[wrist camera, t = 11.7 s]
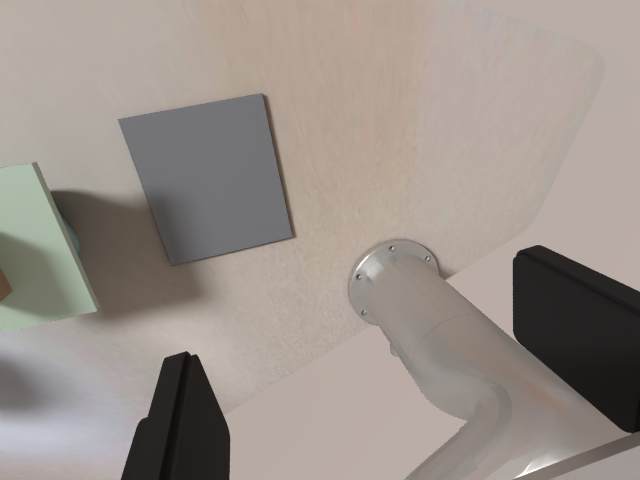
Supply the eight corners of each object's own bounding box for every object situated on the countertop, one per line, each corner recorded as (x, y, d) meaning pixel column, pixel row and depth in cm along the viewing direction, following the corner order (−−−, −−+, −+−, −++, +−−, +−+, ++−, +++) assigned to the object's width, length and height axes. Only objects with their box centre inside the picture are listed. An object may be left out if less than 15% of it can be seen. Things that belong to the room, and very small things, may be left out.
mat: (291, 235, 44) (292, 237, 44) (172, 263, 42) (171, 266, 42) (261, 93, 38) (262, 93, 37) (119, 119, 36) (117, 119, 35)
